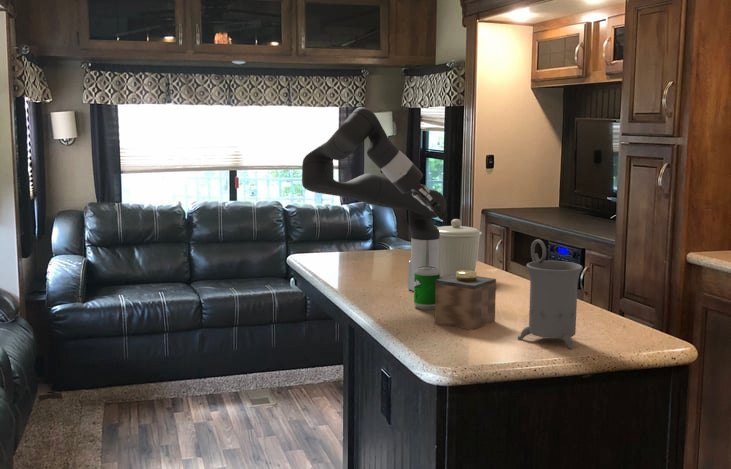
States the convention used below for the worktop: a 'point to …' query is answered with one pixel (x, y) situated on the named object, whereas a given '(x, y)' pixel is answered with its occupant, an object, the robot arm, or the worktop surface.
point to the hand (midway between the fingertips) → (444, 217)
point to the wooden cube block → (465, 302)
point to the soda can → (425, 286)
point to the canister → (457, 248)
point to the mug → (552, 297)
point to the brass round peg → (466, 275)
